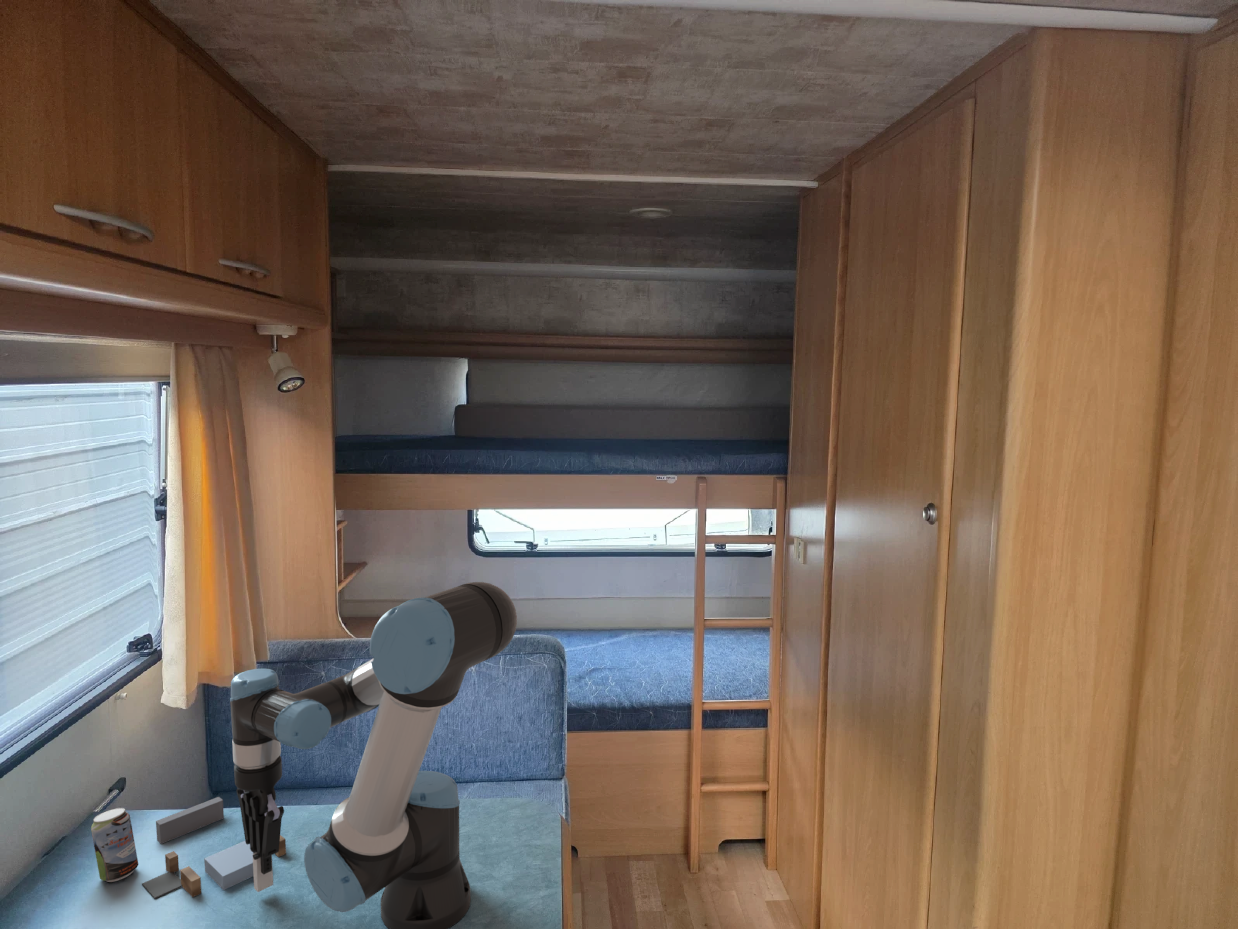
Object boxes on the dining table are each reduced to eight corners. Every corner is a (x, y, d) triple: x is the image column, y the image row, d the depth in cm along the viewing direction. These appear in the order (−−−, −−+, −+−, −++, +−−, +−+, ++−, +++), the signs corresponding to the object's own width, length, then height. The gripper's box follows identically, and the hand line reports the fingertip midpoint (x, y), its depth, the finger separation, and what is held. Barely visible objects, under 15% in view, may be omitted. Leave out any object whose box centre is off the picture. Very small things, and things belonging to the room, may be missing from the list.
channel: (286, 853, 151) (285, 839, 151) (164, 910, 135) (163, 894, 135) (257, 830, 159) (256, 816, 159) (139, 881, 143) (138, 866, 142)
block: (267, 871, 147) (267, 856, 146) (223, 892, 141) (222, 876, 140) (248, 854, 152) (247, 839, 152) (205, 873, 146) (204, 858, 146)
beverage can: (120, 889, 141) (115, 825, 139) (85, 883, 142) (80, 820, 141) (147, 867, 147) (143, 807, 146) (114, 862, 148) (109, 802, 147)
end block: (223, 818, 163) (222, 800, 163) (160, 844, 154) (159, 824, 154) (219, 814, 165) (218, 796, 164) (157, 840, 156) (155, 821, 155)
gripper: (297, 763, 135) (302, 892, 138) (261, 740, 143) (267, 862, 146) (253, 780, 129) (259, 914, 132) (219, 755, 138) (225, 881, 140)
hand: (263, 886), depth 139 cm, fingers closed
